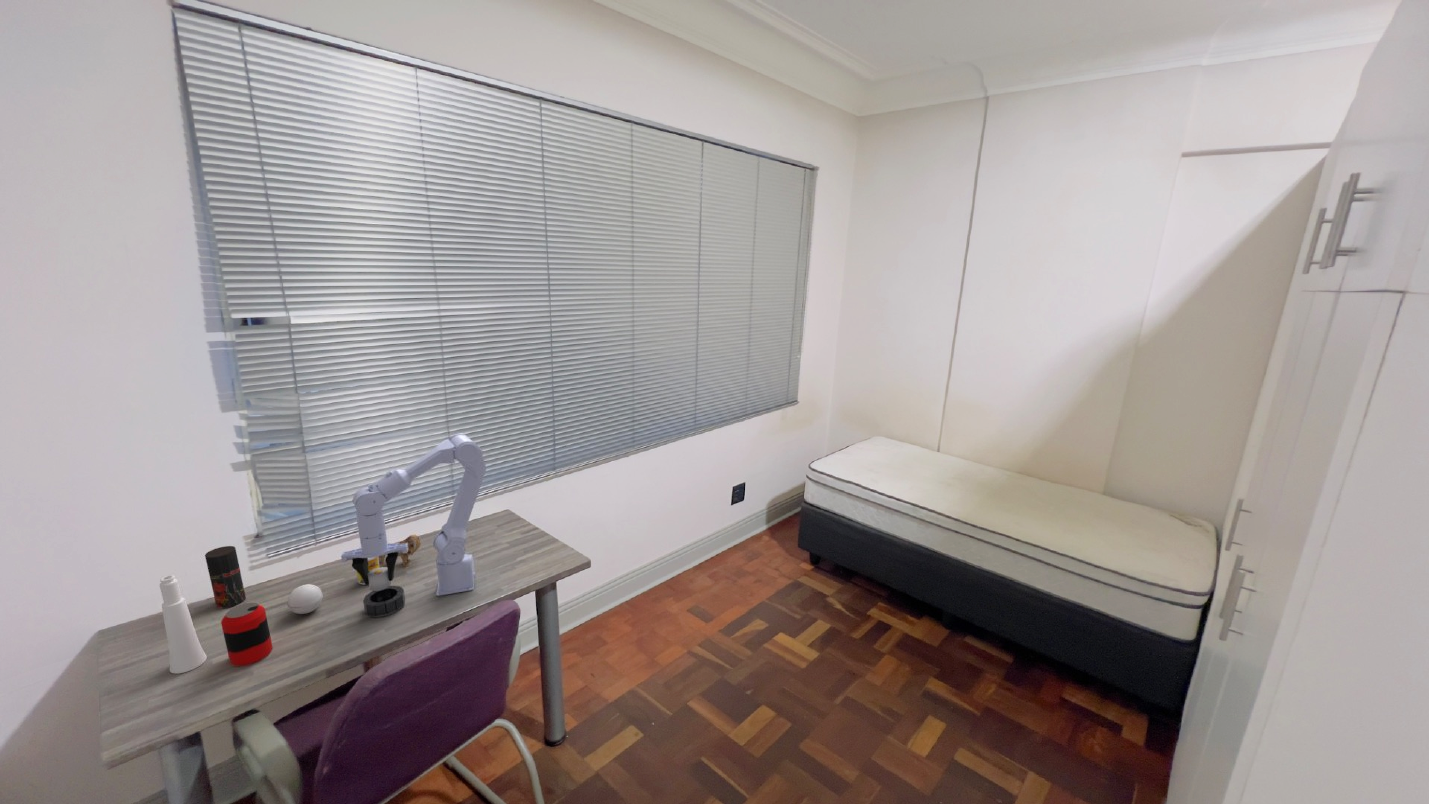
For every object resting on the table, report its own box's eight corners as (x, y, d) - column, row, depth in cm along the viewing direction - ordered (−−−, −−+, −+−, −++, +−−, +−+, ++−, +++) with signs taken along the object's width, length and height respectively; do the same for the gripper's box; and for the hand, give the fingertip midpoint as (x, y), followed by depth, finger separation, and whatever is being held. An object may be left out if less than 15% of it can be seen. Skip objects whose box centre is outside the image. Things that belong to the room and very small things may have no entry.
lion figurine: (425, 556, 168) (422, 530, 166) (420, 565, 163) (416, 539, 161) (373, 561, 165) (369, 534, 162) (366, 570, 160) (362, 543, 157)
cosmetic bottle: (198, 670, 119) (176, 582, 114) (163, 676, 117) (140, 587, 112) (212, 652, 125) (192, 568, 119) (179, 658, 123) (157, 572, 117)
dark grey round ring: (407, 594, 148) (406, 583, 147) (401, 613, 140) (399, 601, 139) (370, 600, 145) (368, 589, 144) (361, 620, 137) (359, 608, 136)
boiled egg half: (392, 579, 143) (390, 565, 142) (388, 589, 139) (386, 574, 138) (372, 582, 142) (370, 568, 141) (367, 592, 137) (365, 577, 136)
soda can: (265, 662, 122) (255, 616, 119) (223, 670, 119) (212, 623, 116) (278, 641, 129) (269, 597, 126) (239, 648, 126) (229, 603, 123)
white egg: (321, 599, 145) (317, 575, 144) (327, 611, 140) (322, 587, 138) (274, 615, 138) (270, 589, 137) (278, 628, 133) (273, 602, 132)
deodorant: (250, 599, 145) (240, 549, 141) (223, 611, 140) (212, 559, 136) (238, 593, 147) (228, 544, 144) (211, 605, 142) (200, 554, 138)
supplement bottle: (358, 587, 151) (353, 555, 148) (358, 578, 155) (353, 546, 153) (381, 581, 154) (377, 549, 151) (380, 573, 158) (376, 541, 156)
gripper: (407, 522, 143) (413, 568, 146) (343, 530, 138) (351, 577, 141) (402, 534, 136) (409, 581, 140) (335, 543, 131) (344, 592, 135)
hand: (379, 580), depth 140 cm, fingers closed on boiled egg half, 5 cm apart
